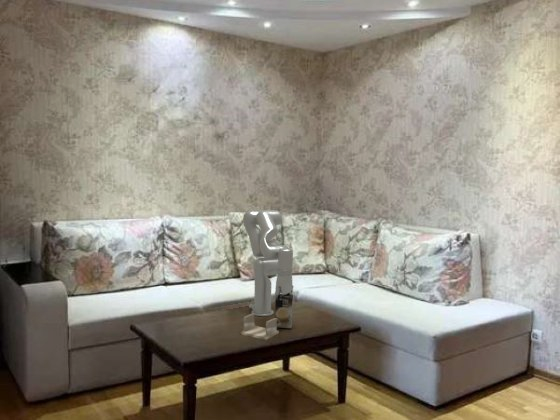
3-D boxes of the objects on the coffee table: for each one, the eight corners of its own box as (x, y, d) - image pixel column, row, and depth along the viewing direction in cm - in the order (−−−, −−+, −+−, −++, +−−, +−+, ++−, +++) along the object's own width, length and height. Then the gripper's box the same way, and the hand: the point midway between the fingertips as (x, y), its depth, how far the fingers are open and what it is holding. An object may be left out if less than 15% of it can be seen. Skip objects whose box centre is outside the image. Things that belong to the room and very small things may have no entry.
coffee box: (273, 327, 261) (274, 296, 259) (275, 323, 267) (276, 293, 265) (291, 328, 260) (292, 297, 258) (292, 324, 266) (293, 294, 264)
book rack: (240, 334, 251) (240, 318, 251) (254, 327, 262) (254, 312, 261) (266, 340, 244) (266, 323, 243) (279, 333, 254) (279, 317, 253)
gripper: (287, 268, 270) (286, 299, 272) (269, 274, 255) (268, 307, 257) (299, 270, 266) (298, 302, 268) (282, 276, 251) (281, 310, 253)
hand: (283, 304), depth 262 cm, fingers closed on coffee box, 8 cm apart
